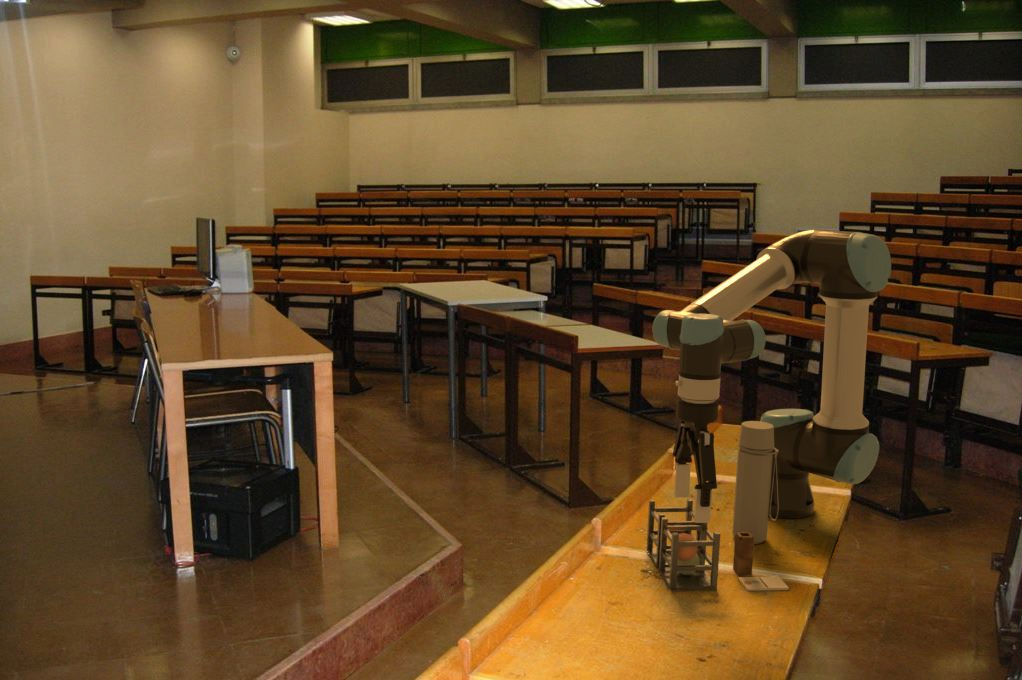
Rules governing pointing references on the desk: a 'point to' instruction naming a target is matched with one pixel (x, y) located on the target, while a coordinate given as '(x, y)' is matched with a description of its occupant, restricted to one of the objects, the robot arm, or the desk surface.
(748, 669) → the desk surface
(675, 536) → the dark open frame crate
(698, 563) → the ball sage
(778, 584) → the card
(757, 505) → the water bottle
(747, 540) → the peg stand
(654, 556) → the wireframe cube
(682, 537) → the ball terracotta
